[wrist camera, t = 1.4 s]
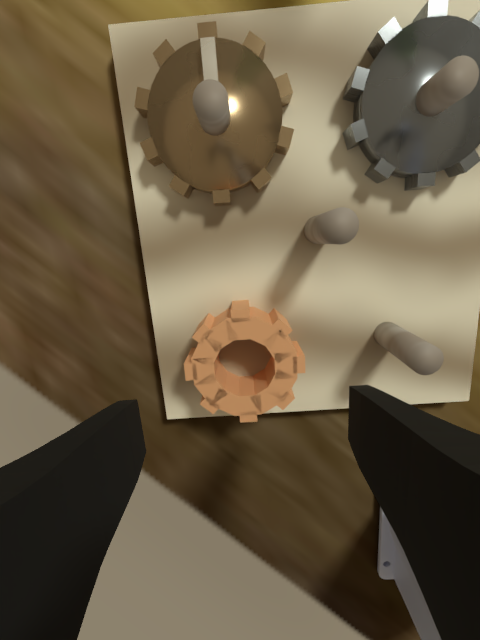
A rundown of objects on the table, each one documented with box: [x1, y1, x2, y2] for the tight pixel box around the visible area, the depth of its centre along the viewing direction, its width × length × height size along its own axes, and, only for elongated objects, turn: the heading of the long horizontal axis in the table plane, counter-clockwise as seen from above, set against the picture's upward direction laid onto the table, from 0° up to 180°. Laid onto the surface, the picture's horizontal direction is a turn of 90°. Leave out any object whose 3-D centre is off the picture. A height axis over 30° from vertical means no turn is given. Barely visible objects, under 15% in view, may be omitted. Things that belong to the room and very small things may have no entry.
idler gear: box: [184, 300, 305, 423], centre depth 17 cm, size 6×6×2 cm
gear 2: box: [342, 0, 480, 191], centre depth 14 cm, size 7×7×1 cm
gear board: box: [108, 0, 480, 419], centre depth 15 cm, size 20×18×5 cm
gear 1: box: [134, 21, 294, 206], centre depth 14 cm, size 7×7×2 cm
